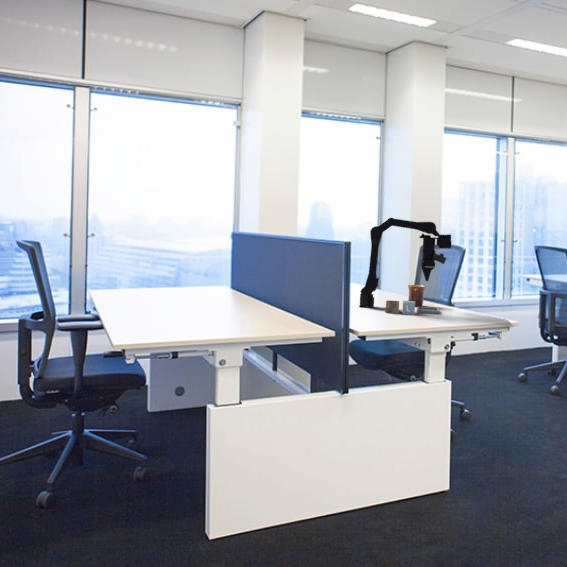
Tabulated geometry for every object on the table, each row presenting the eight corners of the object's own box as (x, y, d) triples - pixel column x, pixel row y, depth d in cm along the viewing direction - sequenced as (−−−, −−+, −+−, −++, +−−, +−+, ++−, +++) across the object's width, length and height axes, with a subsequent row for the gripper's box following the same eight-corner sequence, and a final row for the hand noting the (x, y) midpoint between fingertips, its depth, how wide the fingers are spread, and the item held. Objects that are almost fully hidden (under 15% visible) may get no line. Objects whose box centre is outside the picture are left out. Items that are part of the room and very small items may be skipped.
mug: (406, 304, 307) (407, 284, 306) (424, 305, 305) (425, 285, 304) (406, 307, 295) (407, 287, 294) (424, 308, 293) (426, 288, 292)
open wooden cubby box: (385, 312, 277) (385, 302, 276) (385, 310, 283) (386, 300, 282) (398, 313, 275) (399, 302, 275) (398, 311, 281) (399, 301, 281)
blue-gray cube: (402, 313, 275) (402, 302, 275) (402, 312, 281) (403, 300, 280) (414, 314, 274) (415, 302, 274) (414, 312, 280) (415, 301, 279)
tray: (417, 312, 279) (417, 309, 279) (416, 309, 289) (417, 306, 289) (438, 314, 277) (439, 311, 277) (437, 311, 287) (438, 307, 287)
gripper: (447, 249, 273) (445, 283, 275) (444, 247, 292) (442, 279, 293) (422, 248, 276) (420, 282, 277) (421, 246, 294) (419, 278, 296)
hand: (426, 280), depth 286 cm, fingers open, 9 cm apart
